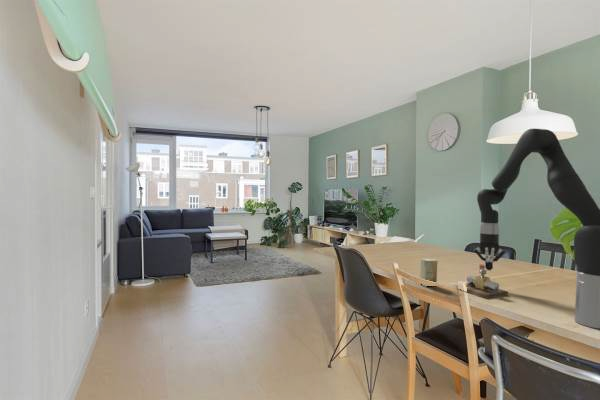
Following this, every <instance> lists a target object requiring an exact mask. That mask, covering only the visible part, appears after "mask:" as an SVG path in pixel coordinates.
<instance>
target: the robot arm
mask: <svg viewBox="0 0 600 400" xmlns="http://www.w3.org/2000/svg"><path fill="white" fill-rule="evenodd" d="M532 153H534V154H535V153H538V154H539V155H540V156H541V158H542V159H543V160H544V162H545V164H546V168H547V176H546V180H547V181H546V182H547V185H548V187H549V189H550V190H551V192H552V193H553V195H554V198H555V199H556V200H557V201H558V202H560V204H561V205H562V206H563V207H565V208H566V209H568V211H569V212H571V213H572V214H573V215H574V216H575V217H576V218H577V219H578V220H579V221H580V223H581V225H582V226H581V227H579V228H578V229H577V230H576V231H575V233H574V237H573V260H574V263H575V266H576V278H575V279H576V282H575V284H576V285H575V304H574V305H575V307H574V309H575V310H574V321H575V323H578V324H580V325H583V326H585V327H588V328H589V327H590V328H593V329H599V330H600V208H599V206H598V204H597V203H596V201H595V200H594V198H593V196H592V195H591V193H590V192H589V191H588V189H587V187H586V186H585V183H584V182H583V180H582V179H581V177H580V176H579V175H578V173H577V172H576V171H575V170H576V169H574V167H573V165H572V164H571V162H570V160H569V159H568V158H567V155H566V153H565V152H564V150H563V148H562V146H561V143H560V142H559V139H558V138H557V135H556V134H555V133H554V131H552V130H549V129H545V128H544V129H543V128H529V129H527V130H525V131H524V132H523V133H522V134H521V136H520V138H519V139H518V141H517V142H516V144H515V146H514V148H513V149H512V151H511V153H510V155H509V157H508V159H507V161H506V162H505V164H504V165H503V167H502V168H501V169H500V170H499V172H498V173H497V174H496V175H495V177H494V178H493V179H492V181H491V186H492V187H493V188H492V189H491V188H490V189H489V188H485V189H480V190H479V192H478V193H477V196H476V199H477V205H478V207H479V212H480V228H479V245H478V247H476V248H474V249H473V251H474V253H475V254H476V255H477V256H478V257H479V259H480V260H481V261H484V262H485V263H484V266H485V269H486V271H492V270H493V269H494V264H493V263H494V262H495V263H496V262H498V261H499V260H500V259H501V257H503V256H504V255H505V253H506V251H505V250H503V249H502V248H501V247H500V243H499V239H500V228H499V227H500V226H499V212H498V211H497V210H496V209H493V207H492V206H493V205H497V204H500V203H501V202H503V200H504V198H505V196H506V194H507V192H508V190H509V188H510V187H511V186H512V185H513V184H514V183H515V182H516V180H517V179H518V177H519V175H520V172H521V167H522V164H523V162H524V160H525V159H526V158H527V157H528V156H529V155H531V154H532ZM480 252H482V253H483V254H484V255H482V254H481V253H480ZM496 253H497V254H496Z"/></svg>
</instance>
